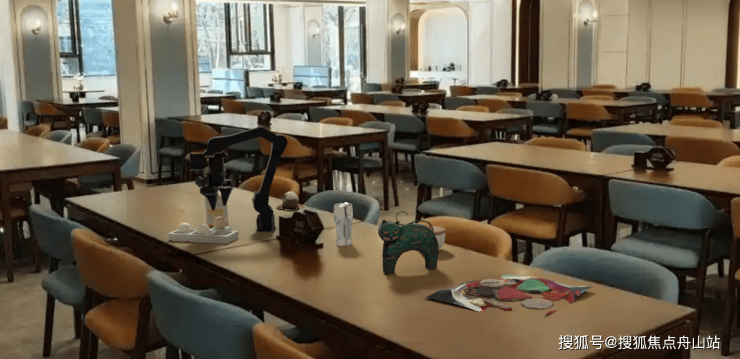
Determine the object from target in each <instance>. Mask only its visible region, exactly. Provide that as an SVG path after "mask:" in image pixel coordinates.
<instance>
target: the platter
mask: <svg viewBox="0 0 740 359" xmlns="http://www.w3.org/2000/svg"><path fill="white" fill-rule="evenodd" d="M590 289H592V286H589V285H588V286H587V285H586V286H584V285H571V284H565V283H560V282H557V281H554V280H551V279H548V278H543V277H537V276H531V275H530V276H529V275H515V274H514V275H513V274H512V275H511V274H503V275H501V277H500V278H498V279H496V278H495V279H493V278H486V279H481V280H473V281H466V282H462V283H460V284H458V285H456V286H454V287H451V288H448V289H446V288H445V289H440V290H437V291H435V292H433V293H431V294H429V295H428V296H425V297H424V298H425V299H430V300H436V301H439V302H444V303H449V304H451V305H452V304H453V305H457V306H461V307H466V308H468V309H471V310H474V311H476V312H478V311H479V313H480V311H481V312H483V311H485V310H487V309H488V308H494V309H497V308H498V309H497V310H500V309H501V310H500V311H502V310H504V311H503V312H505V311H509V312H512V311H511V310H512V308H513V307H512V306H510V305H507V304H504V303H519V305H520V304H521V305H522V306H521V305H520V306H521V307H524V308H525V309H527V310H528V309H529V310H536V311H537V310H539V311H541V310H548V309H551V308H552V307H553V306H554V305H555V302H559V301H561V300H565V301H566V302H568V303H569V304H572V303H573V302H574V301H576V299H577V298H578V297H579V296H580V295H582V294H583V293H584V292H586V291H588V290H590ZM528 294H529V295H528ZM532 295H540V296H541V297H540V298H533V297H532ZM518 301H519V302H518ZM482 310H483V311H482ZM557 311H559V309H558V310H557V309H556V310H549V311H547V312H546V314H545V315H546V316H545V315H544V317H543V319H544V318H546V317H548V316H550V315H552V314H553V313H555V312H557Z"/></svg>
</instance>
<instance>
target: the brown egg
mask: <svg viewBox="0 0 740 359" xmlns="http://www.w3.org/2000/svg"><path fill="white" fill-rule="evenodd" d="M213 225H214V226H213V228H214V227H215V228H216V229H223V228H224V227H227V225H226V220H225V218H223V217H221V216H219V217H216V218H215V219H214V221H213Z"/></svg>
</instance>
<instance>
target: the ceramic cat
mask: <svg viewBox="0 0 740 359" xmlns="http://www.w3.org/2000/svg"><path fill="white" fill-rule="evenodd" d="M401 213H403V214H405V215H407V216H408V215H409V213H407V211H405V210H401V211H399V212H397V213H396V217H395V220H396V221H392V220H385V219H383V220H382V221H381V222H380V223H379V225H378V227H377V233H378V234H377V235H378V236H379V238H380V239H381V241H383V244H382V254H381V256H382V272H383V273H384V275H386V276H388V275H394V274H395V271H396V266H397V262H398V260H399V259H400V257H401V256H402V254H403V255H404V253H409V252H411V251H414V252H415V251H416V252H419V253H420V254H422V255H423V256H424V266H425V269H427V271H434V270H437V268H438V260H439V259H438V258H439V251H440V249H439V250H438V248H439V246H438V241H437V238H436V237H435V234H434V233H433V232H434V229H433V226H434V225H432V224H431V223H430V222H429V221H427V220H424V219H417V220H413V221H410V222H409V223H405V224H402V223H400V222H401V221H399V220H398V215H399V214H401ZM417 222H422V223H427V224H428V225H425V224H422V223H417ZM429 225H430V226H431V227H432V229H433V230H431V229H430V228H429V227H427V226H429Z"/></svg>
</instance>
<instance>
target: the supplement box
mask: <svg viewBox="0 0 740 359" xmlns="http://www.w3.org/2000/svg"><path fill="white" fill-rule="evenodd" d="M204 203H205V204H204V205H205V220H206V224H207V225H208V226H209V227H214V225H213V221H214V219H215V218H216V217H219V216H221V217H223V218H225V220H226V226H228V225H229V211H228V203H227V204H226V206H223V203H222V197H221V193H219V194H218V199H217V204H216V208H215V210H212V209H211V206H210V204H209V201H208V199H207V198H206V197H205V196H204Z"/></svg>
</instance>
